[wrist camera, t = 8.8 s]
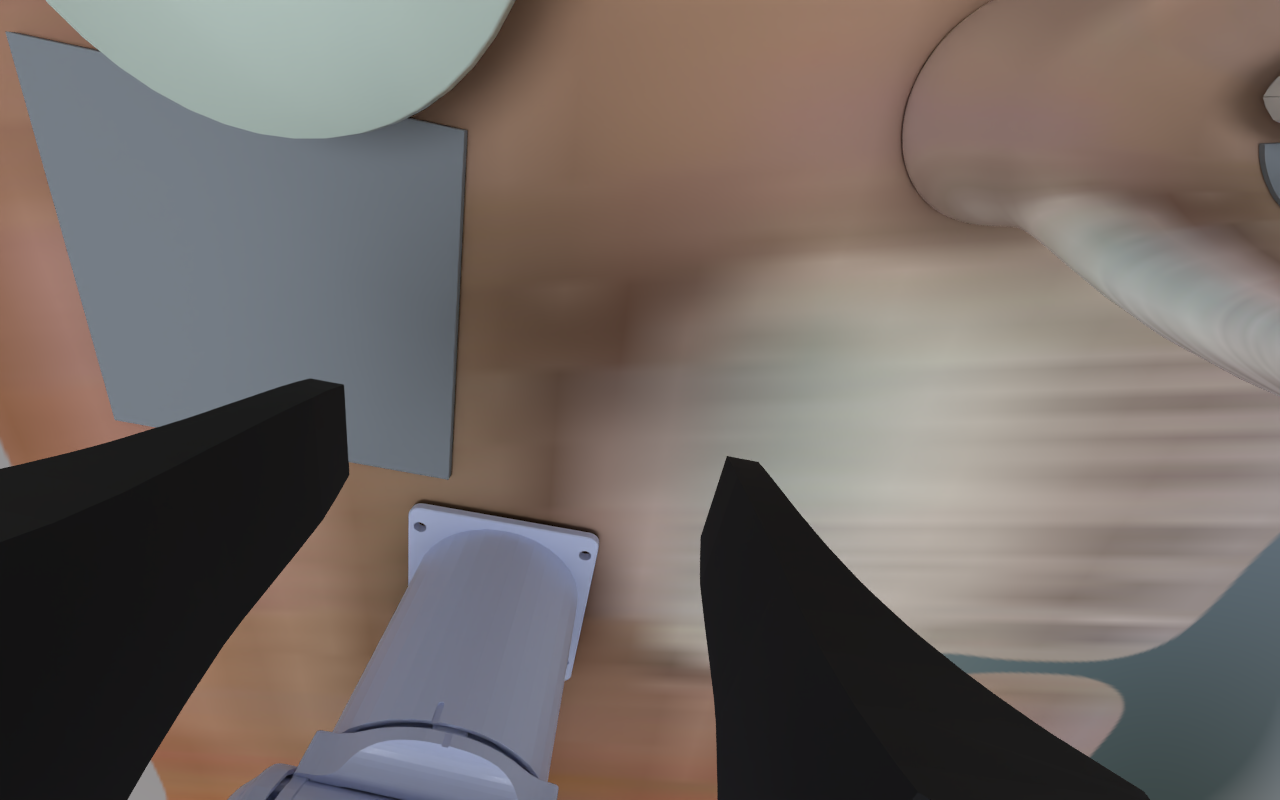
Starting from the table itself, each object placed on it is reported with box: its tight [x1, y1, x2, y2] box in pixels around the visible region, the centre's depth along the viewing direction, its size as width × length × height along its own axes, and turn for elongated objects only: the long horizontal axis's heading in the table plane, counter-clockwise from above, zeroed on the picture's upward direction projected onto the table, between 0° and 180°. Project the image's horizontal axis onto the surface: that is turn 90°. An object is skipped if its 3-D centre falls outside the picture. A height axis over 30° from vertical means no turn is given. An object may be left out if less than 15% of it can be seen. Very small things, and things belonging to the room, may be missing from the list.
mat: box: [6, 32, 467, 480], centre depth 20 cm, size 13×13×1 cm
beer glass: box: [902, 0, 1280, 397], centre depth 10 cm, size 7×7×15 cm
